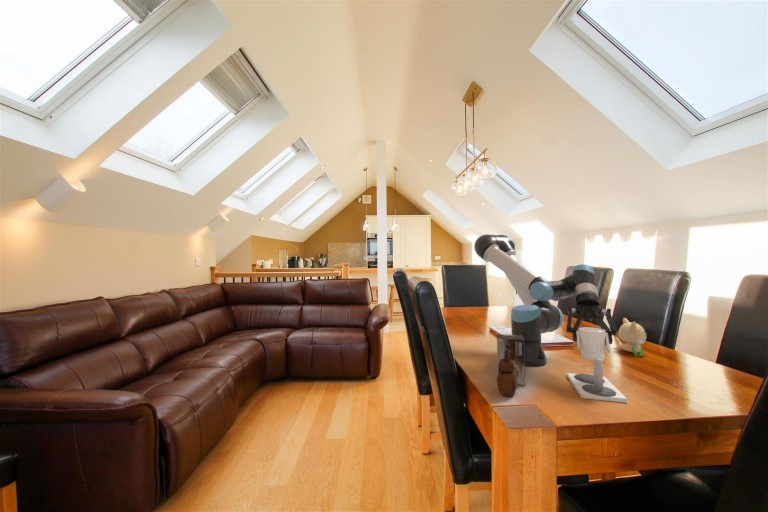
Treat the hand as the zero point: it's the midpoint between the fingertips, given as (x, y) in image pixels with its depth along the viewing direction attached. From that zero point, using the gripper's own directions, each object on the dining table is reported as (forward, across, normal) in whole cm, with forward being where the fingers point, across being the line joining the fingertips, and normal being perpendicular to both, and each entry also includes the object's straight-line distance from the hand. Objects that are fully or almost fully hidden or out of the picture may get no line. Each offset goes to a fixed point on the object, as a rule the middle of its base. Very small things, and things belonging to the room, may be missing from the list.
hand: (593, 350), depth 106 cm
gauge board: (+9, 0, -8) cm, 13 cm away
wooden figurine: (+22, +26, +4) cm, 34 cm away
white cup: (0, 0, -5) cm, 5 cm away
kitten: (-30, -20, -48) cm, 60 cm away
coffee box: (+13, +26, -4) cm, 29 cm away
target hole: (+5, +1, -11) cm, 12 cm away
